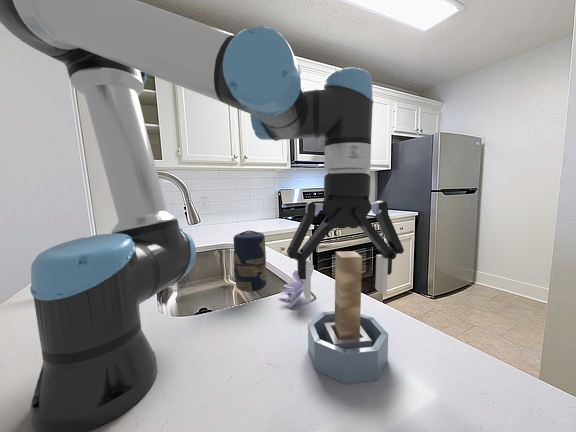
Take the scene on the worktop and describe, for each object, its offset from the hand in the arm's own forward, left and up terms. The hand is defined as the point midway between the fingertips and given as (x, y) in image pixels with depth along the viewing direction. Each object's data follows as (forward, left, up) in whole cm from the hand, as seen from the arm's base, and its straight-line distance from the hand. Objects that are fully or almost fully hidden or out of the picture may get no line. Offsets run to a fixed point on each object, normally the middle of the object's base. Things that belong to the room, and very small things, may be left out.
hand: (344, 294), depth 44 cm
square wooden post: (0, 0, -11) cm, 11 cm away
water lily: (-5, +24, -12) cm, 27 cm away
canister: (-18, +34, -12) cm, 40 cm away
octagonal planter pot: (0, 0, -12) cm, 12 cm away
